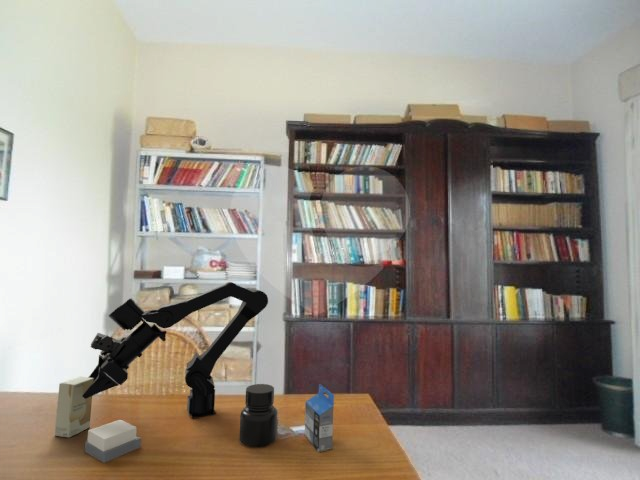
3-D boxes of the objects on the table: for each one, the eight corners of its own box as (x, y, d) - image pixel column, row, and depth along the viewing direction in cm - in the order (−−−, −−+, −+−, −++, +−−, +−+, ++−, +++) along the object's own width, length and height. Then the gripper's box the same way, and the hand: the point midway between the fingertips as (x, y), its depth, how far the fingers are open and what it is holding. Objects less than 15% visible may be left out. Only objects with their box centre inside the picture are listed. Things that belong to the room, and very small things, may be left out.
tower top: (119, 430, 86) (120, 419, 86) (135, 438, 82) (136, 427, 82) (87, 441, 80) (88, 430, 80) (103, 451, 76) (104, 439, 76)
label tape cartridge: (303, 435, 90) (305, 384, 91) (317, 433, 91) (319, 383, 92) (318, 452, 82) (319, 396, 83) (333, 449, 83) (334, 394, 84)
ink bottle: (284, 435, 90) (286, 385, 91) (267, 452, 81) (269, 397, 82) (249, 428, 93) (251, 380, 94) (230, 444, 85) (232, 391, 85)
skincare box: (68, 438, 85) (72, 385, 86) (53, 436, 86) (57, 383, 87) (91, 426, 91) (94, 377, 92) (76, 424, 92) (80, 375, 93)
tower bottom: (120, 439, 86) (121, 428, 86) (140, 449, 82) (141, 438, 82) (84, 453, 79) (85, 442, 80) (103, 465, 75) (104, 452, 75)
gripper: (112, 317, 102) (61, 361, 95) (115, 328, 86) (54, 381, 80) (141, 343, 106) (94, 387, 99) (149, 358, 90) (93, 412, 83)
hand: (84, 391), depth 90 cm, fingers open, 9 cm apart
